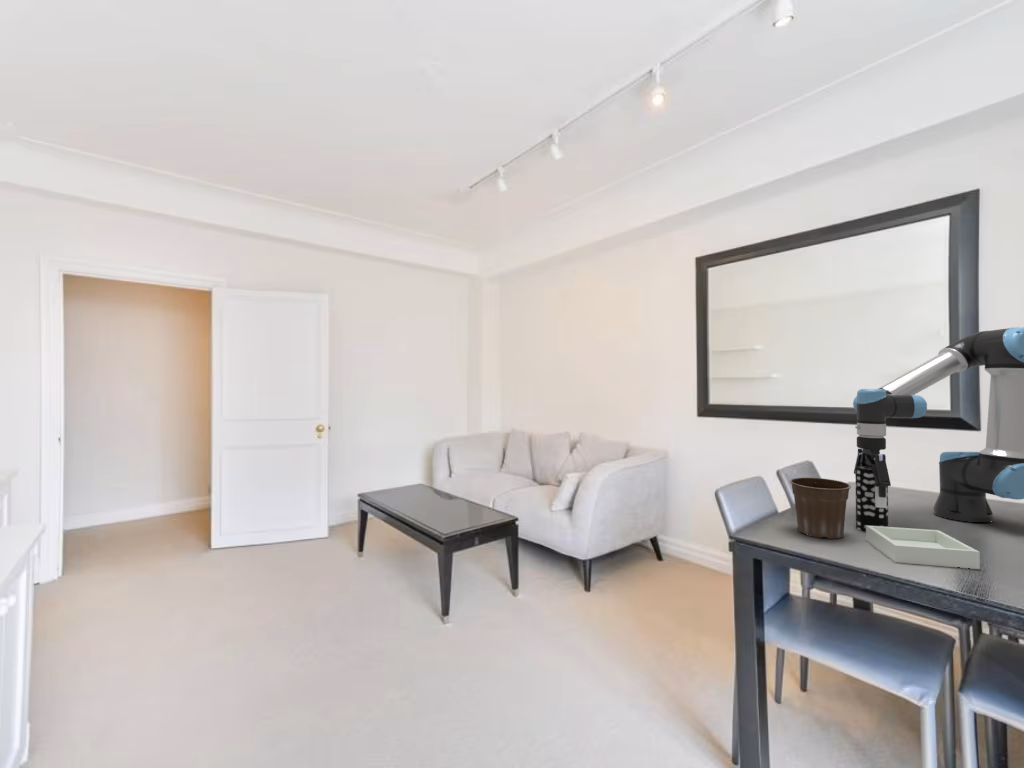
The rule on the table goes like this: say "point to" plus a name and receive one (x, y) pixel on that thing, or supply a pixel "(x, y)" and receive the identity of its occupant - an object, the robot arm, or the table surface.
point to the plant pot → (820, 506)
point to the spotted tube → (868, 500)
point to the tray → (922, 547)
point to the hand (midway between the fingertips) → (871, 502)
